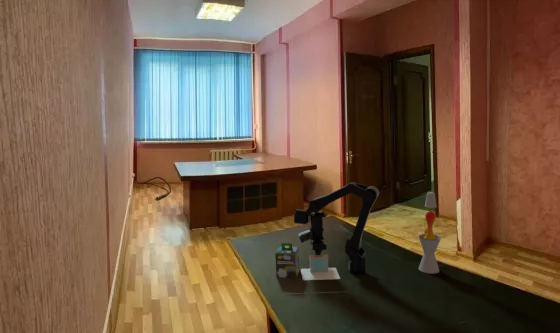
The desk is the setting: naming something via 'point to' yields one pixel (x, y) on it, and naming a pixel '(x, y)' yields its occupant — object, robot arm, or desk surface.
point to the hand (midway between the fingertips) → (317, 258)
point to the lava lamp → (429, 239)
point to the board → (320, 274)
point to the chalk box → (287, 261)
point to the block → (318, 263)
